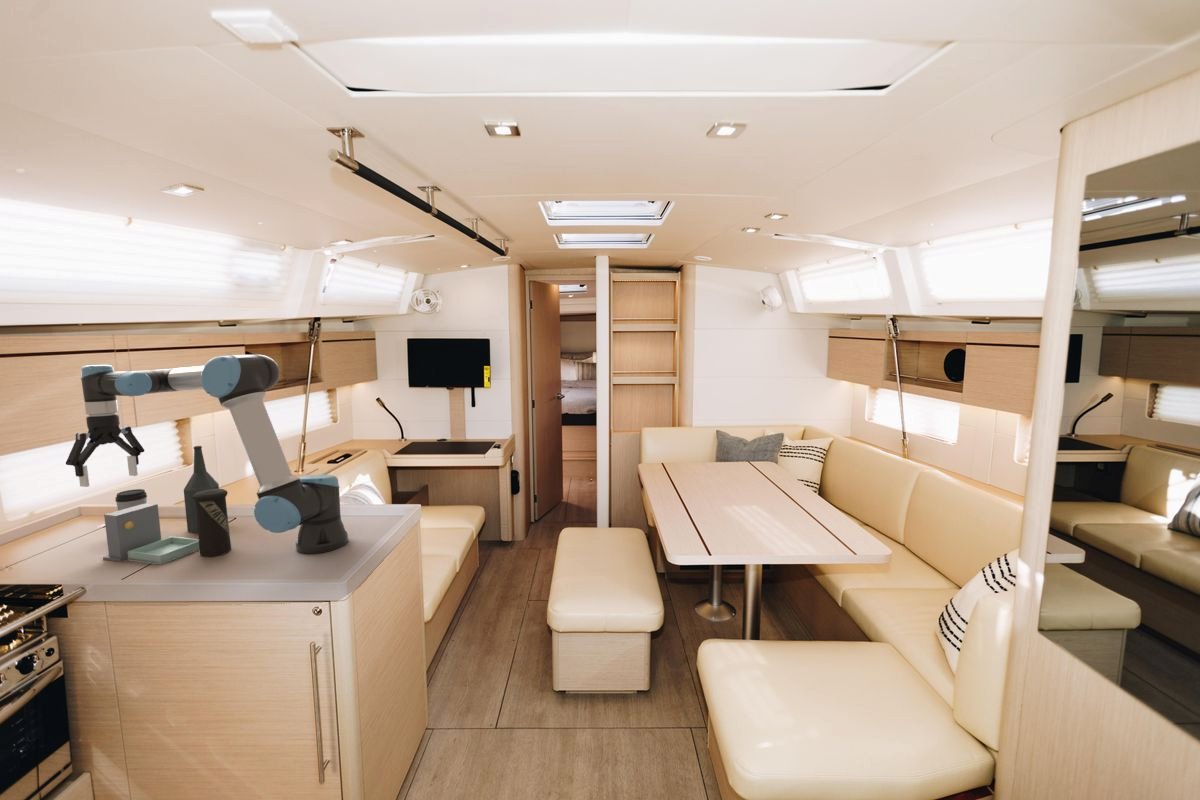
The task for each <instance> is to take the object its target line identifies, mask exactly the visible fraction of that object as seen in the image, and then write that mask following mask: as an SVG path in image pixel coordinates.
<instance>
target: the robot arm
mask: <svg viewBox="0 0 1200 800" xmlns="http://www.w3.org/2000/svg"><path fill="white" fill-rule="evenodd" d="M114 369H115V368H114V366H113V365H111V364H92V365H91V364H90V365H83V366H82V367H81V369H80V373H81V377H80V380H81V386H82V393H83V401H84V407H85V409H84V410H85V414H86V415H87V416H86V417H85V418H86V419H85V420H86V427H87V429H88V431H87V432H76V433H75V442H74V444H73V446H72V448H71V450H70V452H69V454H68V457H67V459H66V461H65V465H67V466H73V467H74V472H75V477H78V478H79V479H78V481H79V487H83V488H87V487H90V481H89V480H90V479H89V472H88V465H86V462H87V461H88V459H89V458H90V457H91V456H92V454H93V453H94V452H95V450H96V449H97V448H98V447H99V446H100V445H101V446H103V445H106V444H116V445H117V446H118V447H120V448H121V449H122V450H123V451H125V452H126V453H127V454H129V455H126V458H127V468H128V475H129V477H130V476H133V477H136V476H138V475H139V474H138V465H139V456H140V455H141V453H145V449H144V447H143V446H142V445H141V443H140V442H139V440H138V439H137V438H136V436H135V435H134V434H133V430H132V428H131V426H127V425H126V426H122V427H120V415H119V414H118V413H119V407H118V406H119V405H118V398H117V396H119V397H120V396H121V397H122V396H125V397H140V396H144V395H149V394H157V393H158V394H159V393H169V392H171V393H173V392H181V391H194V390H204V392H205V393H206V394H208V395H210V396H211V397H213V398H216V399H218V402H219V404H220V406H221V407H223V408H225V409H228V410H229V412H230V415H231V417H232V419H233V422H234V424H235V426H236V429H237V432H238V434H239V437H240V439H241V441H242V442H241V443H242V444H243V447H244V450H245V452H246V455H247V457H248V459H249V461H250V464H251V467H252V469H253V471H254V473H255V476H256V479H257V482H258V485H259V488H258V489H257V491H256V496H257V500H258V501H257V502H255V505H254V507H255V508H254V509H253V516H254V518H255V520H256V522H257V523H258V525H259V526H260V527H261V528H263V529H264V530H266V531H269V532H271V533H275V534H281V533H285V532H287V531H291V530H294V529H296V528H297V527H298V526H299V528H298V529H299V531H298V533H297V538H296V541H295V548H296V551H297V552H298V553H300V554H320V553H327V552H330V551H334V550H337V549H340V548H342V547H343V546H345V545H347V544H348V543H349V534H348V532H347V530H346V529H345V526H344V523H343V521H342V515H341V497H340V485H339V484H340V483H339V479H338V477H337V476H335V475H332V474H310V475H309V474H308V475H304V476H296V475H294V474H292V471H291V469H290V466H289V464H288V462H287V459H286V456H285V453H284V452H283V448H282V446H281V444H280V440H279V439H278V436H277V433H276V431H275V428H274V427H273V423H272V421H271V418H270V416H269V414H268V411H267V408H266V406H265V402H264V398H265V397H266V395H267V393H266V391H268V390H271V389H272V388H273V387H275V386H276V385H277V384H278V382H279V380H280V377H281V376H280V375H281V371H280V367H279V364H277V362H276V361H275V360H274V359H272V358H271V357H269V356H267V355H263V354H233V355H232V354H226V355H219V356H215V357H212V358H211V359H209V360H208V361H207V362H206V363H205V364H204V365H200V366H187V367H177V368H176V367H175V368H164V369H162V368H161V369H152V370H151V369H147V370H145V369H144V370H131V371H129V370H126V371H115V370H114ZM120 434H122V435H123V436H124V437H125V440H124V439H123V438H122V437H121V436H120ZM88 439H89V441H88V442H87V440H88ZM126 441H127V442H126ZM86 442H87V443H86ZM128 443H129V444H128ZM84 447H85V448H84Z"/></svg>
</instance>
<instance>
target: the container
mask: <svg viewBox="0 0 1200 800" xmlns="http://www.w3.org/2000/svg"><path fill="white" fill-rule="evenodd" d="M227 495H228V491H227V490H226V489H225V488H219V489H210V490H204V491H200V492H197V493H195V494H194V495H193V497H192V498H193V500H194V501H195V504H196V514H197V526H198V533H197V536H198V538H197V539H199V550H198V551H199V555H200V556H202V557H215V556H221V555H225V554H226V553H228V552H230V551H231V550H232V546H231V545H232V542H231V535H230V534H231V533H230V527H229V526H230V524H229V517H228V516H229V515H228V508H227V507H228V506H227V498H226V497H227Z"/></svg>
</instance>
